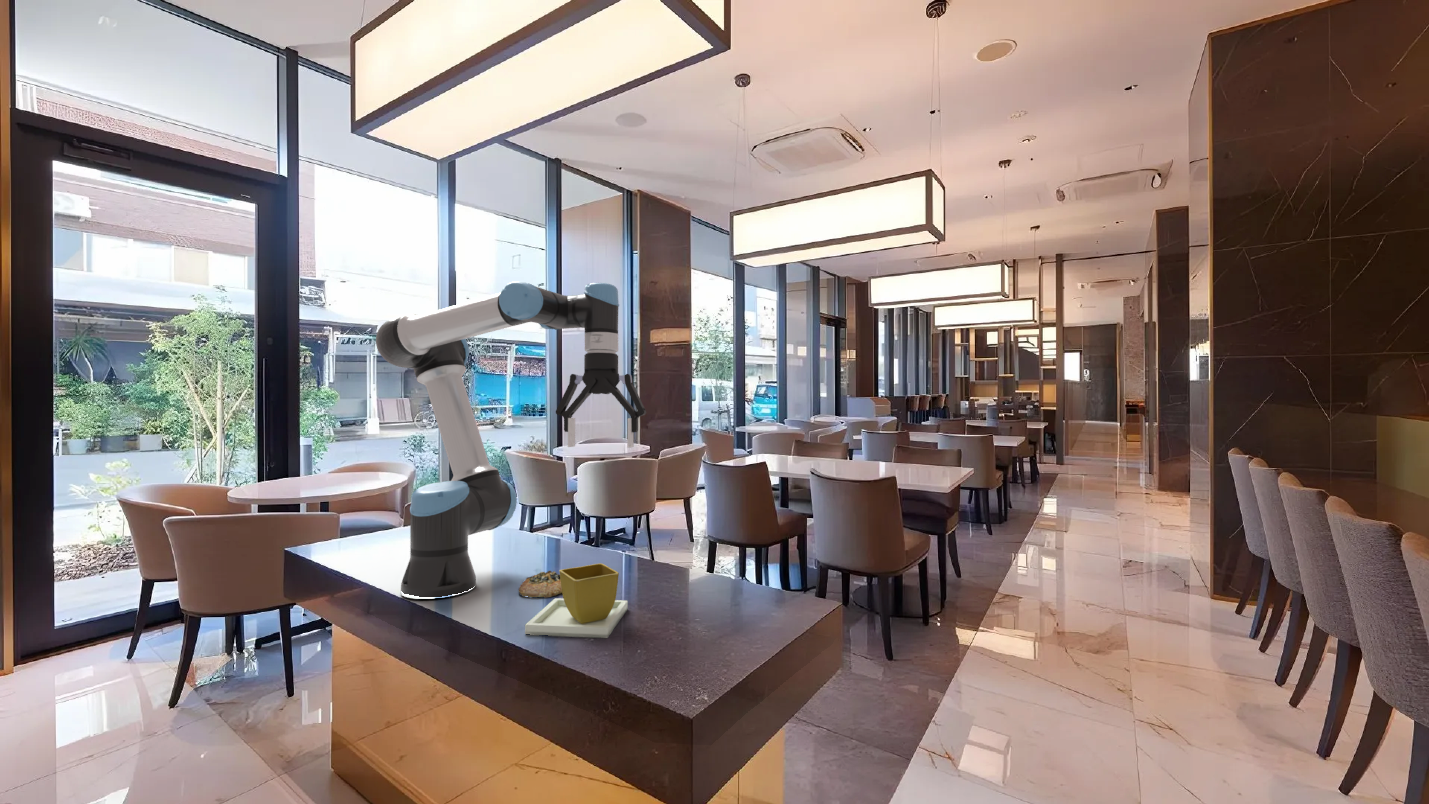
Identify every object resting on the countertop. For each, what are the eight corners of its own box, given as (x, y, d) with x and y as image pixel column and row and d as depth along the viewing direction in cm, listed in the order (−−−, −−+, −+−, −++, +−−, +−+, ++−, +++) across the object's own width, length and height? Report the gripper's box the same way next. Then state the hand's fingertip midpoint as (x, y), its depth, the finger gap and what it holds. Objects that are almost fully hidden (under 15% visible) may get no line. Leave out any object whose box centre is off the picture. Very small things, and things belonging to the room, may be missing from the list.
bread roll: (539, 581, 139) (541, 560, 139) (579, 593, 135) (581, 571, 135) (506, 596, 129) (508, 574, 128) (547, 610, 125) (550, 587, 124)
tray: (525, 634, 106) (525, 624, 106) (554, 607, 121) (555, 598, 121) (607, 638, 105) (607, 627, 105) (627, 609, 120) (627, 600, 120)
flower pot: (574, 630, 107) (574, 580, 107) (558, 616, 114) (558, 569, 114) (619, 621, 111) (619, 572, 112) (601, 607, 119) (601, 562, 119)
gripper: (541, 351, 132) (540, 447, 132) (652, 351, 130) (652, 448, 129) (553, 354, 139) (553, 445, 139) (658, 354, 137) (658, 446, 137)
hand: (600, 447), depth 134 cm, fingers open, 13 cm apart
